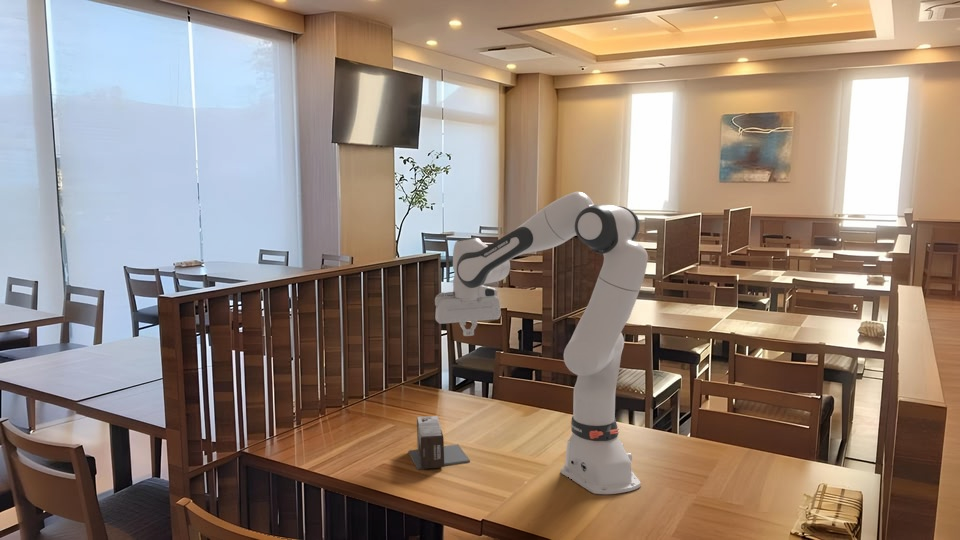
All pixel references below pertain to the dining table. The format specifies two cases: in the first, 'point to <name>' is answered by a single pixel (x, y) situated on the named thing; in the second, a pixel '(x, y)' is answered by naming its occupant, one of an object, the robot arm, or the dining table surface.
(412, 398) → the dining table surface
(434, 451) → the coffee box
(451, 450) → the rubber mat
